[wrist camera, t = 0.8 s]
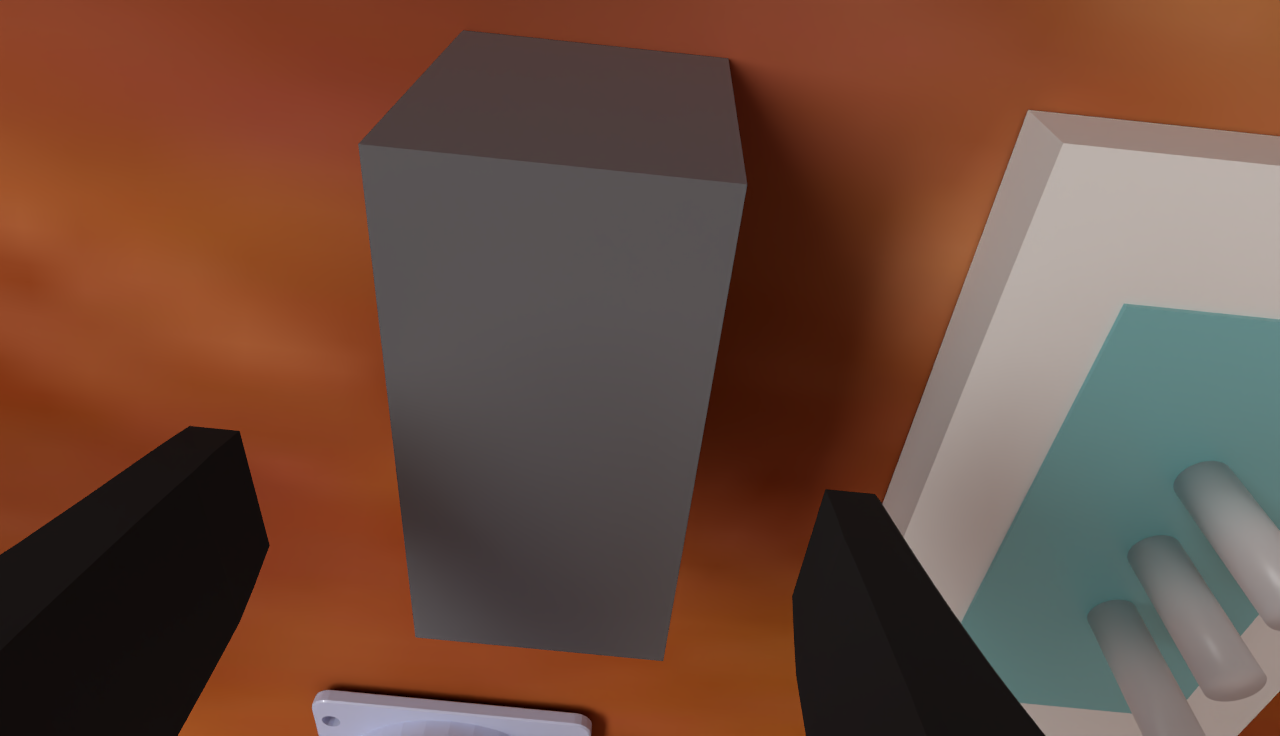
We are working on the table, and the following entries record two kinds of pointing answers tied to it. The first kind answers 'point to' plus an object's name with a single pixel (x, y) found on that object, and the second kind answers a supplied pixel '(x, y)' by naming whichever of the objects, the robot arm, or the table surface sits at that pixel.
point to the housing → (551, 330)
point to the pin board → (1113, 431)
